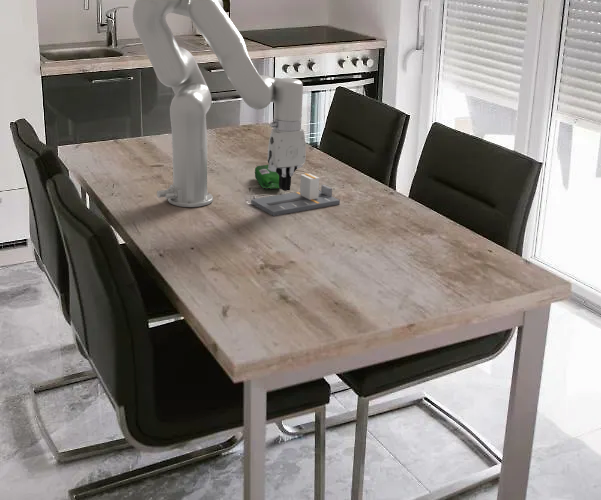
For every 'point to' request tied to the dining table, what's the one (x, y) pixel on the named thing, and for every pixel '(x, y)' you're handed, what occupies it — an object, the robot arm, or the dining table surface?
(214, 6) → the robot arm
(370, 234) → the dining table surface
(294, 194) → the console
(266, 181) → the snack package
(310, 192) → the fader tab
